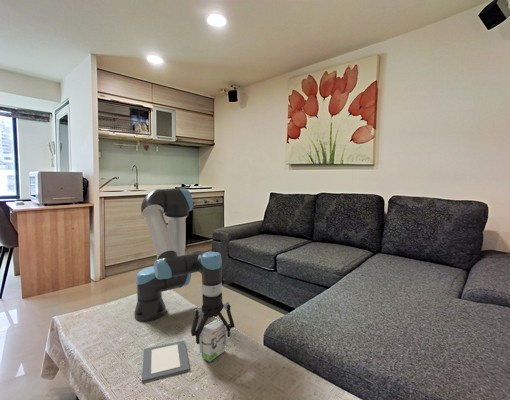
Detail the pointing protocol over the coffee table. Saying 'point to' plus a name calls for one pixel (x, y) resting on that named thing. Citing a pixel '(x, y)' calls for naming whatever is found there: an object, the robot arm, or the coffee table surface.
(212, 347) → the ink box
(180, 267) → the robot arm
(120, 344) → the coffee table surface
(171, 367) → the writing mat
